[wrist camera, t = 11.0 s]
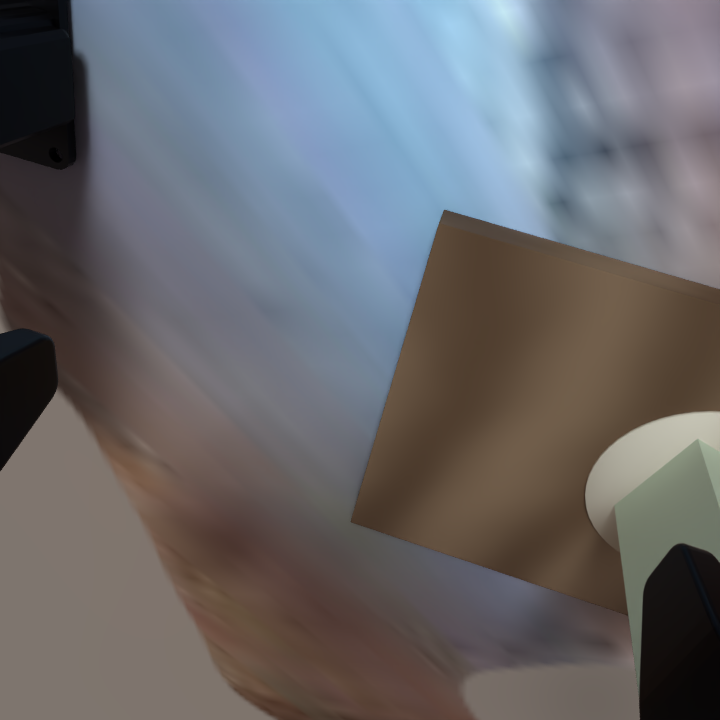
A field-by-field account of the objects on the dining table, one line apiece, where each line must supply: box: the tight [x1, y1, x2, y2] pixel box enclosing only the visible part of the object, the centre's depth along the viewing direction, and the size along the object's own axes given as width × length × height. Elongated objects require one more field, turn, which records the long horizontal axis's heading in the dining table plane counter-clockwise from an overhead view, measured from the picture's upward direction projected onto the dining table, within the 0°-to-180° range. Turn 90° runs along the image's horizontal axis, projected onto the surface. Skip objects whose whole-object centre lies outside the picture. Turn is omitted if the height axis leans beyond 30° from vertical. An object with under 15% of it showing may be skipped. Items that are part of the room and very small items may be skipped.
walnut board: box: [351, 210, 720, 615], centre depth 22 cm, size 16×14×3 cm
